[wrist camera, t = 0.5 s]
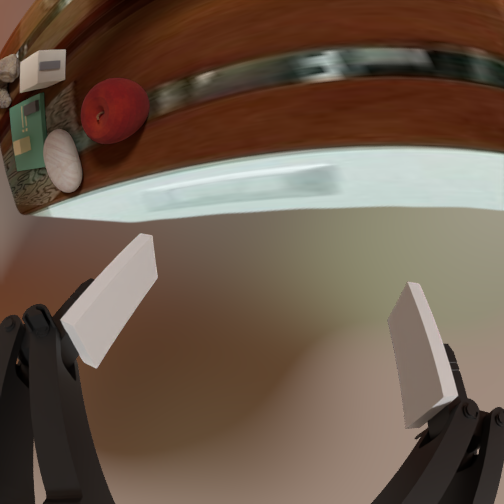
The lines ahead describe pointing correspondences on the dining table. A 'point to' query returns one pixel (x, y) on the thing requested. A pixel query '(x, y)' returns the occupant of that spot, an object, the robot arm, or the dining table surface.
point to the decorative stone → (62, 161)
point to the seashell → (8, 77)
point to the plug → (42, 70)
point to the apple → (114, 110)
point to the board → (29, 132)
